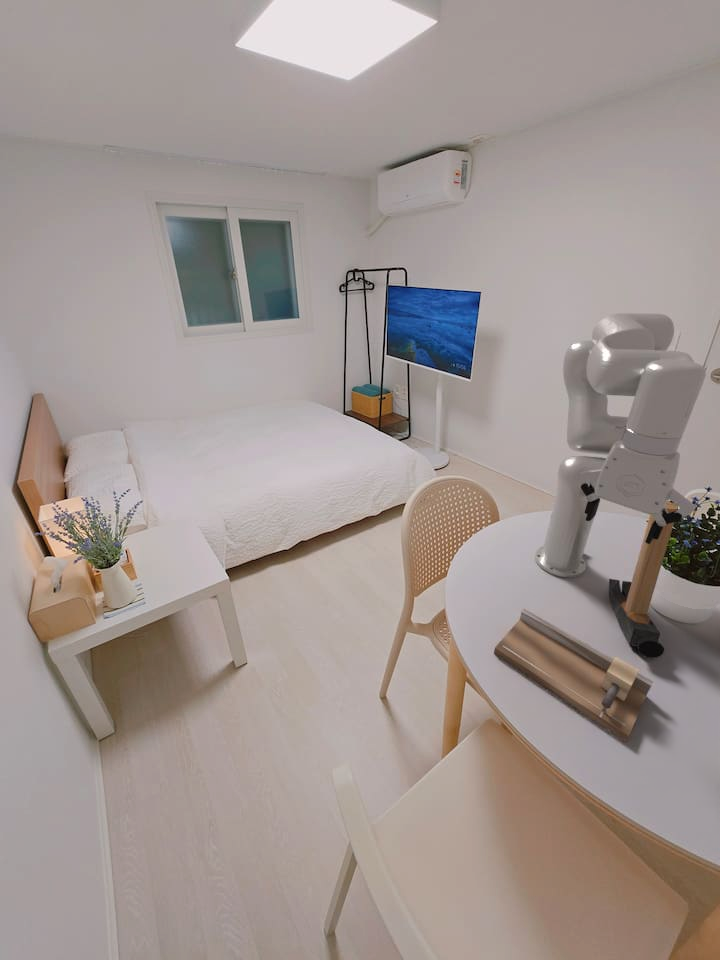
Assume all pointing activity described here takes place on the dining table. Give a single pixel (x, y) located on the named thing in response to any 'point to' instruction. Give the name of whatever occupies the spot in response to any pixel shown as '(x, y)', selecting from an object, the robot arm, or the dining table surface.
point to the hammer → (642, 593)
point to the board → (571, 671)
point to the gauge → (617, 681)
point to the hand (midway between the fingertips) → (618, 528)
